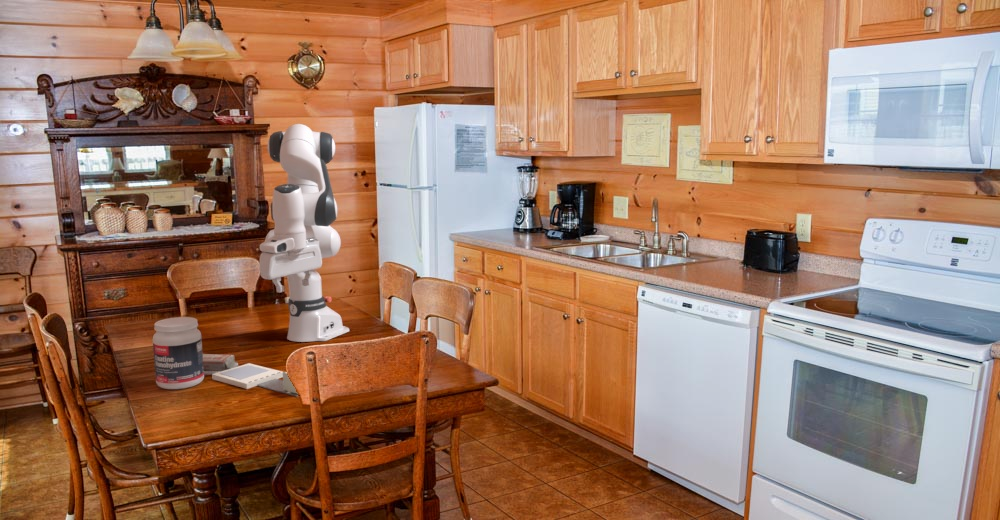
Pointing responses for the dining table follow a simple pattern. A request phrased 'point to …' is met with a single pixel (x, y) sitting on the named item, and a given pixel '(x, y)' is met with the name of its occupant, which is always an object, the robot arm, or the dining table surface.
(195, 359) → the supplement tub
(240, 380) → the board
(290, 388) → the pale green cube
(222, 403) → the dining table surface
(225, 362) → the packaged product
